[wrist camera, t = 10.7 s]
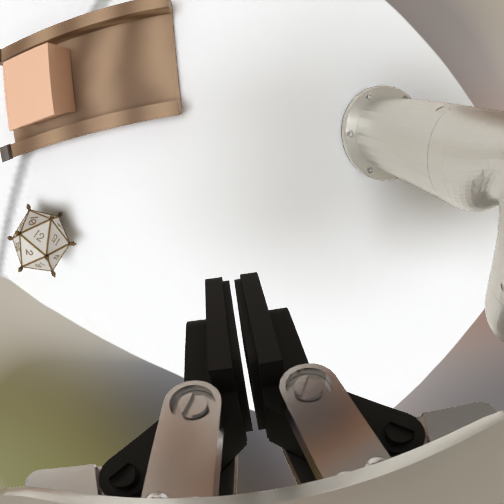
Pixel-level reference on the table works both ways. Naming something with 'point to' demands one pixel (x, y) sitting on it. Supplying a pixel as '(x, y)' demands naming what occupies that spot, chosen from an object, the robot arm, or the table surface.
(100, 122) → the chute
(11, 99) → the block
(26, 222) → the game die
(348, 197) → the table surface
